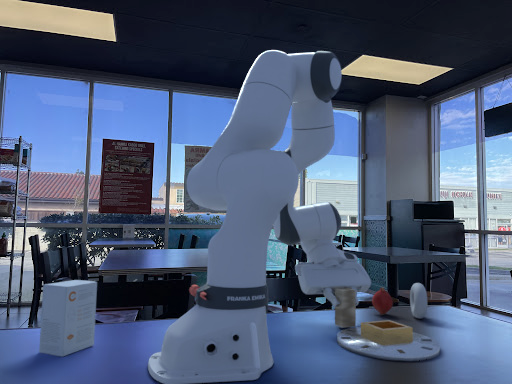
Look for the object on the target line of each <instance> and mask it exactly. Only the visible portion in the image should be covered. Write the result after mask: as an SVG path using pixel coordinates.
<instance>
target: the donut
mask: <svg viewBox="0 0 512 384" xmlns="http://www.w3.org/2000/svg"><path fill="white" fill-rule="evenodd" d="M409 305H410V311H411V314H412V316H413V317H414V318H416V319H419V320H420V319H421V320H422V319H423V318H425V316H426V314H427V311H428V293H427V290H426V287H425V286H424V284H422V283H420V282H415V283H413V284H412V286H411V288H410V293H409Z"/></svg>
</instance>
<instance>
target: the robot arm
mask: <svg viewBox="0 0 512 384" xmlns="http://www.w3.org/2000/svg"><path fill="white" fill-rule="evenodd" d="M341 85H342V66H341V62H340V60H339V58H338V57H337V56H336V54H335V53H333V52H332V51H326V50H325V51H324V50H317V51H316V52H298V53H297V52H296V53H288V54H287V53H286V52H284V51H282V50H277V49H271V50H265V51H263V52H262V53H261V54H259V55H258V56H257V58H256V59H255V60H254V62H253V64H252V66H251V67H250V68H249V70H248V73H247V74H246V77H245V79H244V81H243V84H242V86H241V88H240V92H239V94H238V96H237V100H236V103H235V105H234V108H233V111H232V113H231V115H230V118H229V120H228V122H227V123H226V126H225V127H224V129H223V131H222V132H221V134H220V135H219V137H218V138H217V139H216V140H215V142H214V144H213V145H212V147H211V148H210V149H209V150H208V152H207V153H206V154H205V156H204V157H203V158H202V159H201V160H200V161H199V162H198V163H196V164H195V165H194V166H193V167H192V168H191V169H190V170H189V172H188V174H187V176H186V177H187V178H186V191H187V194H188V196H189V198H190V199H191V201H192V202H193V203H194V204H196V205H197V206H199V207H202V208H205V209H208V210H212V211H216V212H217V211H223V212H224V211H226V213H225V216H224V220H223V222H222V224H221V226H220V228H219V230H218V231H217V232H216V233H215V234H214V235H213V236H212V237H211V238H210V240H209V242H208V244H207V269H206V270H207V271H206V272H207V273H206V276H207V277H206V283H204V284H203V285H202V286H199V285H197V284H192V285H191V287H189V289H188V291H189V293H190V295H191V296H193V297H195V305H194V306H193V307H191V308H190V309H189V310H188V311H187V312H186V313H184V314H183V315H182V316H180V317H179V318H178V319H177V320H175V321H174V322H173V323H172V324H170V325H169V326H168V327H167V329H166V331H165V333H164V337H163V340H162V344H161V345H162V346H161V351H158V352H155V353H153V354H152V355H151V356H150V357H149V359H148V363H147V369H148V372H149V375H150V376H151V377H152V378H153V379H154V380H156V381H157V382H158V383H162V384H202V383H203V384H204V383H219V382H220V383H221V382H222V383H224V382H225V383H226V382H240V381H254V380H259V378H260V377H261V375H262V374H263V372H265V371H267V370H269V369H270V368H272V367H273V364H274V358H273V355H272V351H271V346H270V341H269V333H268V325H267V324H268V323H267V322H268V321H267V314H268V311H269V309H268V308H269V285H268V284H267V282H266V281H267V259H268V257H267V256H268V246H269V240H270V236H271V232H272V230H273V232H274V235H275V238H276V239H277V240H278V241H280V242H281V243H282V244H284V245H287V246H292V245H295V244H299V245H300V246H301V248H302V250H303V252H304V253H305V254H306V258H307V259H306V260H307V262H303V261H299V262H298V263H296V264H295V266H294V270H295V272H296V274H297V276H298V277H297V278H298V281H299V286H300V289H301V291H302V293H303V294H305V295H323V297H325V299H327V300H328V301H329V302H330V304H331V305H332V307H333V308H335V307H339V306H340V305H341V301H340V299H339V297H335V289H341V288H349V289H353V290H356V306H358V305H359V303H360V301H359V298H358V297H357V296H358V293H366V292H367V291H368V290H369V288H370V287H371V286H372V280H371V278H370V276H369V274H368V273H367V270H366V269H365V268H364V266H363V265H362V263H360V262H358V260H359V259H358V256H357V255H356V254H354V253H351V252H347V251H344V250H341V249H340V248H337V247H336V245H335V244H334V243H333V242H334V239H336V237H337V235H338V233H339V232H340V230H341V228H342V218H341V214H340V212H339V211H338V209H337V208H336V206H335V205H333V204H332V203H331V202H329V201H322V202H316V203H315V202H314V203H311V204H306V205H301V206H300V205H299V206H296V207H295V206H294V205H295V204H294V203H295V194H296V193H297V191H298V188H299V187H298V186H299V181H300V179H299V178H300V177H299V175H301V173H302V172H303V171H305V170H306V169H308V168H309V167H310V166H312V165H314V164H315V163H317V162H319V161H321V160H322V159H324V158H326V156H327V155H328V154H329V153H330V152H331V150H332V149H333V147H334V145H335V135H336V134H335V129H336V128H335V117H334V110H333V103H332V98H333V97H334V96H335V95H336V94H337V93H338V92H339V90H340V88H341ZM290 112H291V113H290ZM289 115H291V116H290V119H291V120H290V121H291V136H290V140H289V141H290V142H289V144H288V147H287V148H286V149H285V150H283V151H282V150H276V149H275V150H274V149H273V148H275V146H276V145H277V144H278V143H279V142H280V140H281V139H282V137H283V135H284V131H285V128H286V124H287V120H288V117H289Z"/></svg>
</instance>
